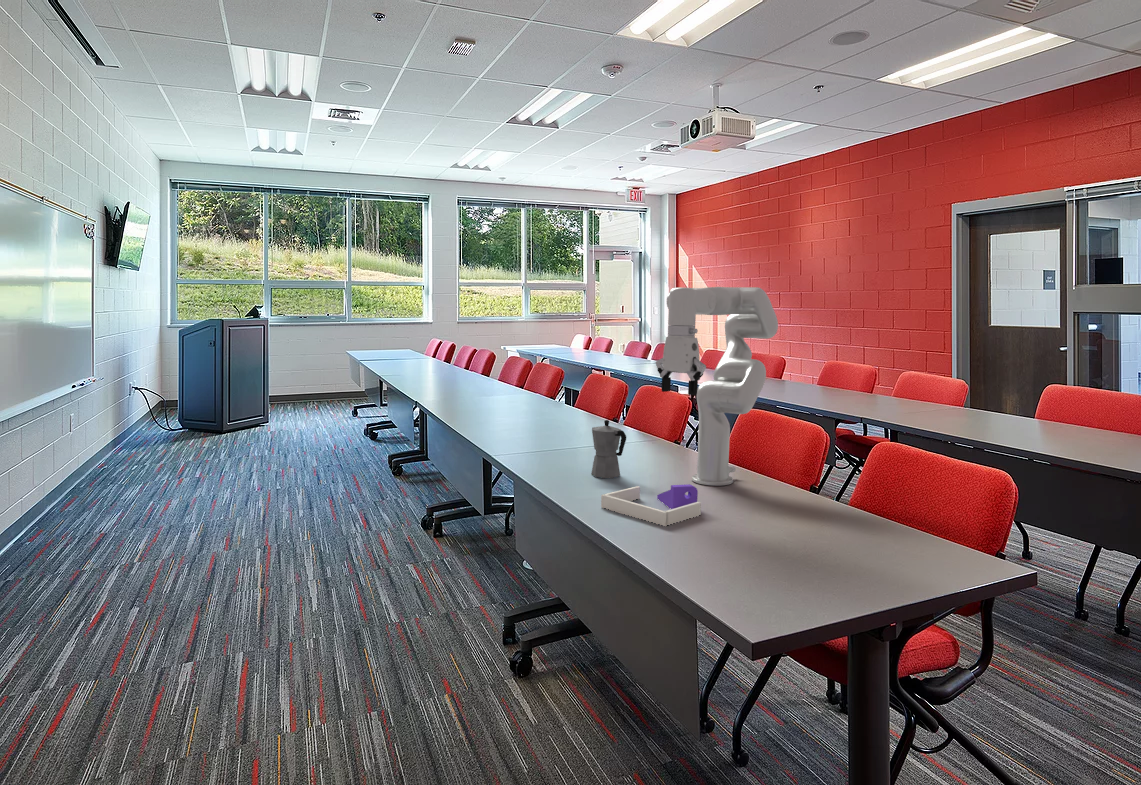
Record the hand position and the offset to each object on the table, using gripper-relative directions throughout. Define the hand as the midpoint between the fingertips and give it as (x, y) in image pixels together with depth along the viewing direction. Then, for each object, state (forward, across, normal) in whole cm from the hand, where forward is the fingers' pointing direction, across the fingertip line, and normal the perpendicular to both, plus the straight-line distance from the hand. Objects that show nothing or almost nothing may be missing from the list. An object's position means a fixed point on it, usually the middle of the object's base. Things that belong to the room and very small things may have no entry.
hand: (679, 393), depth 198 cm
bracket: (+31, -6, +6) cm, 32 cm away
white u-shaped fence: (+30, -6, +17) cm, 35 cm away
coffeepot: (+30, +30, -2) cm, 42 cm away
